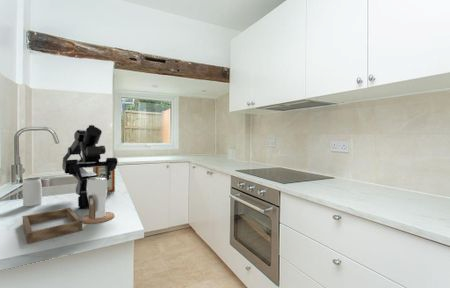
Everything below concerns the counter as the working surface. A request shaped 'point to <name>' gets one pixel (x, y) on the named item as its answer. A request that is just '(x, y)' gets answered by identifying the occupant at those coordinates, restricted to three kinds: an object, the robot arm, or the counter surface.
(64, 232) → the wooden frame
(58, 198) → the counter surface
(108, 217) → the terracotta saucer
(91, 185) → the silver metal cup
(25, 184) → the can
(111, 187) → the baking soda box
